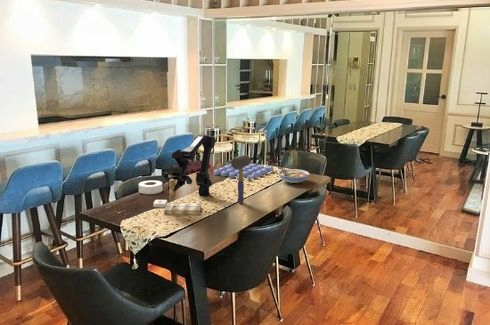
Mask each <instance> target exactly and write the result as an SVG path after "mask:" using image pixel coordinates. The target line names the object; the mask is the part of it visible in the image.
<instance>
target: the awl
mask: <svg viewBox="0 0 490 325" xmlns="http://www.w3.org/2000/svg"><path fill="white" fill-rule="evenodd" d="M175 185H176V179H170V180H169V196H168V197H169V199H170V200H171V203H175V199H177V190H176V191H175V192H174V191H173V190H174V188H175Z"/></svg>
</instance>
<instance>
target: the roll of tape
mask: <svg viewBox="0 0 490 325" xmlns="http://www.w3.org/2000/svg"><path fill="white" fill-rule="evenodd" d="M138 192H139V194H141V193H142V195H156V194H160V193H162V192H163V182H162V181H160V180H144V181H141V182H139V183H138Z"/></svg>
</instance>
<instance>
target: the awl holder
mask: <svg viewBox="0 0 490 325" xmlns="http://www.w3.org/2000/svg"><path fill="white" fill-rule="evenodd" d="M167 204H168V200H167V199H155V200H154V201H153V206H152V207H153V208H165V207H166V205H167Z"/></svg>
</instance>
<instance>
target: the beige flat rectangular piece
mask: <svg viewBox="0 0 490 325" xmlns="http://www.w3.org/2000/svg"><path fill="white" fill-rule="evenodd" d="M201 208H202V203H200V202H199V203H198V202H195V203H194V202H193V203H191V202H185V203H184V202H183V203H177V202H176V203H175V202H167V205H166V207H164V209H163V215H200V212H201Z"/></svg>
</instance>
